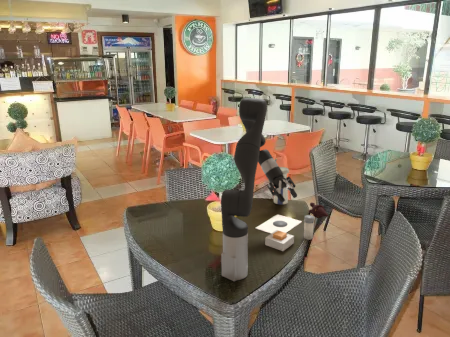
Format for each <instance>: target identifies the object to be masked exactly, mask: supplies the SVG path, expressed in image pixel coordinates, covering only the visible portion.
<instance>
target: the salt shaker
mask: <svg viewBox="0 0 450 337" xmlns="http://www.w3.org/2000/svg"><path fill="white" fill-rule="evenodd" d="M303 221H304V224H303V228H304V229H303V239H304V240H308V241H309V240H310V241H311V240H313V238H314V223H315V217H314V216H313V215H312V214H311V215H310V214H309V215H304V220H303Z"/></svg>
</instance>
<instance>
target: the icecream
mask: <svg viewBox="0 0 450 337" xmlns="http://www.w3.org/2000/svg"><path fill="white" fill-rule="evenodd" d="M309 206H310V207H311V209H308V213H309V215H310V214H311V215H312V216H314V218H316V219H320V218H323V217H329V214H328V213H327V212H326V211H327V210H326V209H325V207H324V205H322V204H315V202H312V201H311V202H310V203H309Z"/></svg>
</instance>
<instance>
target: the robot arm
mask: <svg viewBox="0 0 450 337" xmlns="http://www.w3.org/2000/svg"><path fill="white" fill-rule="evenodd" d="M267 112H268V103H267V101H266V100H265V99H263V98H258V97H257V98H255V97H254V98H252V97H243V98H242V99H241V100H240V103H239V107H238V113H239V114H238V115H239V118H240V121H241V123H242V125H243V126H244V129H245V134H242V136H241V137H240V138H239V139H238V141H237V143H236V145H235V150H234V157H233V160H234V164H235V166H236V168H237V170H238V173H240V176H241V178H242V181H243V183H244V189H243V190H242V189H240V190H239V189H232V188H231V189H228V188H227V189H224V190H223V191H222V193H221V196H220V212H221V225H222V226H221V227H222V252H221V256H220V257H221V259H220V260H221V263H220V264H221V277H224V278H226V279H228V280H230V281H233V282H236V281H241V280H243V279H245V278H246V277H247V276H248V275H249V274H248V273H249V272H248V271H249V270H248V269H249V264H248V261H249V260H248V259H249V256H248V255H249V250H248V249H249V226H248V224H247V223H246V222H245V221H243V220H242V219H239V218H238V217H243V218H244V217H246V218H247V217H249V216H250V215H251V212H252V209H253V202H254V201H253V200H254V191H255V181H256V174H257V167H258V164H259V166H260V167H261V170H262V172H263V173H264V175H265V176H266V178H267V180H268V182H269V183H268V184H267V185H266V186H267V188H268V190H269V193H271V195H272V196H273V197H274V195H275V196H277V197H278V199H279V200H280V202H281V203H283V202H284V201H285V199H284V197H283V196H282V194H280V193H281V189H287V190H288V191H289V193H290V195H291V197H292V198H293V199H296V198H297V197H298V194H297V191H296V190H295V188H296V187H297V185H296V184H295V182H294V181H293V180H292V178H291V177H290V176H289V175H287V178H284V177H283V172H282V171H281V169H280V167H281V166H279V164H278V162H277V160H276V161H275V158H274V157H273V156H272V154H271V152H270V151H269V150H268V149H261V148H262V147H263V146H264V145H265V144H266V138H265V136H264V135H263V130H264V126H265V125H264V124H265V121H266V117H267ZM286 185H287V186H286Z"/></svg>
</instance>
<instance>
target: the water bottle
mask: <svg viewBox="0 0 450 337" xmlns="http://www.w3.org/2000/svg"><path fill="white" fill-rule="evenodd" d="M274 160H275V161H276V162H277V160H278V158H277V157H275V158H274ZM279 167H280V169H281V171H282V172H283V177H284V178H287V177H288V174H289V173H290V168H288V167H284V166H279ZM286 186H287V185H286ZM288 191H289V190H287V189H281V193H280V194H282V196H283V197H284V199H285V201H284V202H283V203H281V202H280V200H279V199H278V197H277V196H275V195H274V196H273V203H274V204H276V205H287V204H288V203H289V201H288V198H289V197H288V194H289V192H288Z"/></svg>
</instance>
